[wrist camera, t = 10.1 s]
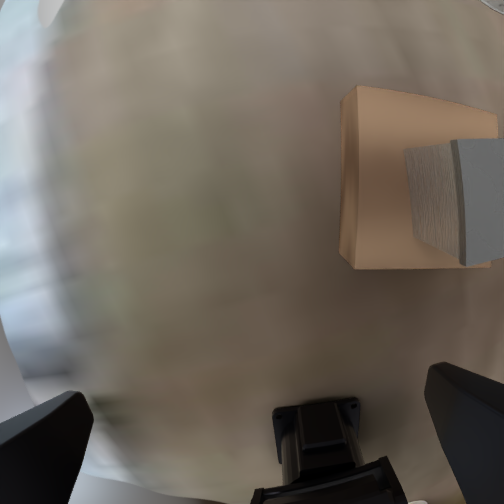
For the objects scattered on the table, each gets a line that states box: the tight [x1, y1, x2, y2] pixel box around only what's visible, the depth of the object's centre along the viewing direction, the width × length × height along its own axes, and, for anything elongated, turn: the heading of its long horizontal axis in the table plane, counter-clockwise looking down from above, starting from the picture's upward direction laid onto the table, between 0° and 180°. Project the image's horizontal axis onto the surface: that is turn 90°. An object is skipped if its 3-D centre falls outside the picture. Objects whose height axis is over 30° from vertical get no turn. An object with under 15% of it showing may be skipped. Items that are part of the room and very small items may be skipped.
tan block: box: [339, 85, 498, 269], centre depth 16 cm, size 9×9×4 cm
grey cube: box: [403, 138, 504, 267], centre depth 12 cm, size 5×5×5 cm
